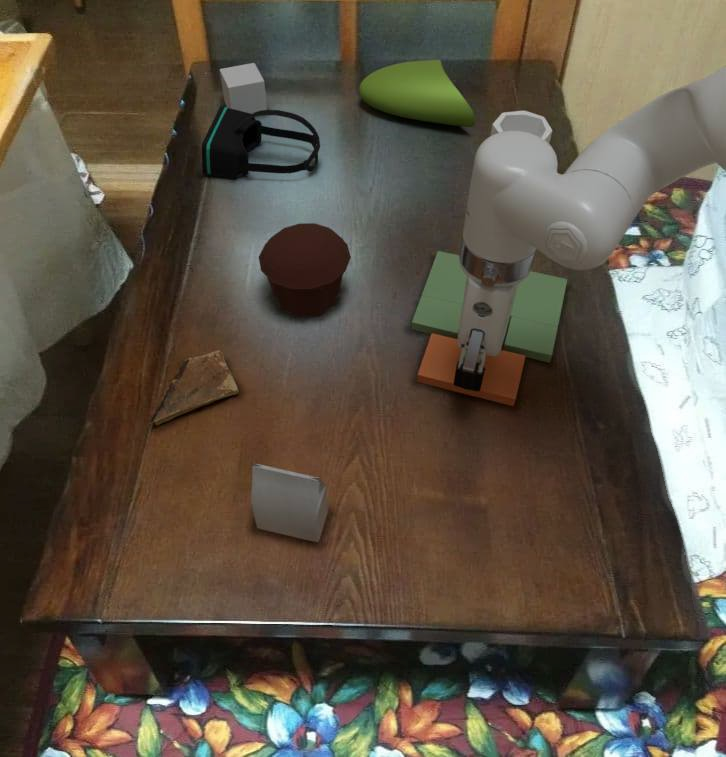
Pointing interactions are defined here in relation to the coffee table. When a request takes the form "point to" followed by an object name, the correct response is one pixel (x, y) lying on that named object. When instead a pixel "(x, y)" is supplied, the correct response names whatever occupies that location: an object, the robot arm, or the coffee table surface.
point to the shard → (196, 386)
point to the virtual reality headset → (249, 143)
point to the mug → (522, 124)
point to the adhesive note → (243, 88)
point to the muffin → (305, 268)
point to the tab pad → (493, 373)
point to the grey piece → (288, 502)
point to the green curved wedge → (417, 93)
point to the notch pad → (528, 316)
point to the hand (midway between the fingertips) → (474, 358)
